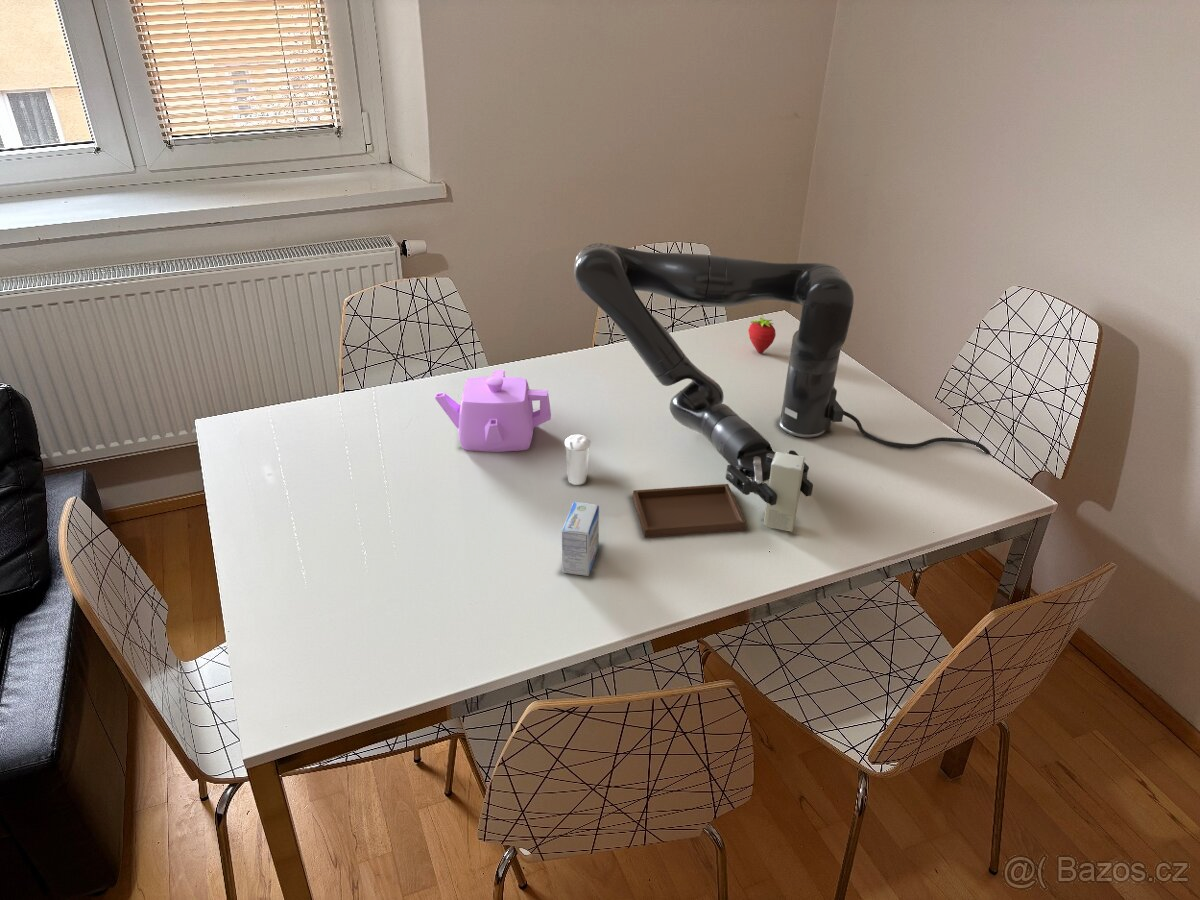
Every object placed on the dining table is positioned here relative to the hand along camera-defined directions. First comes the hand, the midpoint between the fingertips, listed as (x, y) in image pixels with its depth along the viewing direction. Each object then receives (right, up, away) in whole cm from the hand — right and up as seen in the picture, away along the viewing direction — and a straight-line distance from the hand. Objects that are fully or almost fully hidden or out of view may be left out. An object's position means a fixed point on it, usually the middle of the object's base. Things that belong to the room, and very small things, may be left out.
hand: (792, 496), depth 144 cm
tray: (-17, -3, +8) cm, 19 cm away
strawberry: (+6, +30, +61) cm, 68 cm away
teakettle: (-52, +10, +28) cm, 60 cm away
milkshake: (-36, +2, +16) cm, 39 cm away
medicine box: (-35, -10, -3) cm, 36 cm away
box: (-1, -5, +6) cm, 8 cm away
